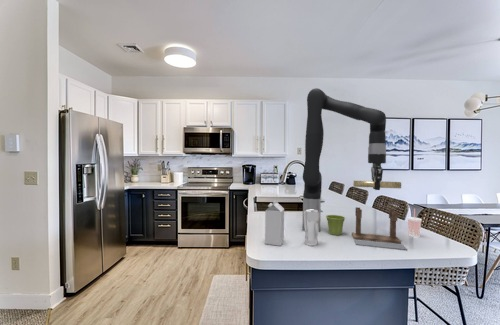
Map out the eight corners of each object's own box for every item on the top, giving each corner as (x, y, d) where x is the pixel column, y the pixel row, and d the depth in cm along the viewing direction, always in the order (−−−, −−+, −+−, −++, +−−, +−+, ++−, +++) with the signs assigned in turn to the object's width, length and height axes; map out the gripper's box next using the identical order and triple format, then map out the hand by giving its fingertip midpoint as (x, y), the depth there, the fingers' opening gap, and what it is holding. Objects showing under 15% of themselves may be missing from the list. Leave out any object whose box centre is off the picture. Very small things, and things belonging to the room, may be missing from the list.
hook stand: (353, 239, 114) (353, 209, 114) (351, 234, 121) (352, 206, 120) (401, 243, 108) (401, 212, 108) (396, 239, 115) (397, 209, 115)
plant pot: (321, 231, 125) (322, 215, 125) (336, 230, 128) (336, 214, 128) (333, 237, 116) (334, 219, 116) (349, 235, 120) (349, 218, 120)
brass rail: (354, 186, 115) (354, 180, 115) (353, 186, 118) (353, 180, 118) (401, 188, 109) (401, 182, 109) (399, 188, 112) (399, 181, 112)
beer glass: (310, 247, 102) (311, 212, 102) (300, 242, 108) (300, 209, 108) (322, 245, 105) (323, 211, 105) (311, 240, 111) (312, 208, 111)
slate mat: (355, 245, 106) (355, 243, 106) (354, 240, 111) (354, 239, 111) (407, 250, 100) (407, 249, 100) (402, 245, 106) (402, 244, 106)
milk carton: (283, 241, 110) (284, 200, 110) (280, 246, 103) (281, 202, 103) (268, 239, 112) (269, 199, 112) (264, 244, 105) (265, 201, 105)
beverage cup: (415, 238, 116) (415, 209, 116) (403, 234, 122) (404, 207, 122) (424, 237, 118) (425, 209, 118) (413, 233, 124) (413, 207, 124)
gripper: (365, 153, 121) (365, 187, 121) (371, 152, 107) (370, 190, 108) (382, 153, 119) (381, 188, 119) (389, 152, 105) (389, 191, 105)
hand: (376, 189), depth 113 cm, fingers closed on brass rail, 3 cm apart
